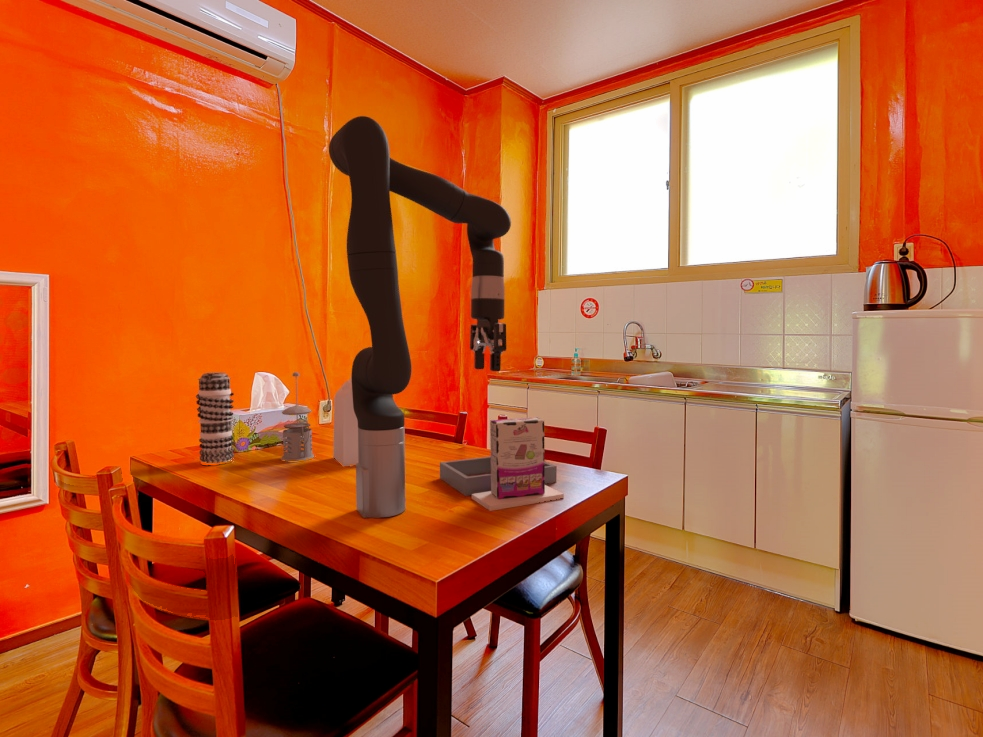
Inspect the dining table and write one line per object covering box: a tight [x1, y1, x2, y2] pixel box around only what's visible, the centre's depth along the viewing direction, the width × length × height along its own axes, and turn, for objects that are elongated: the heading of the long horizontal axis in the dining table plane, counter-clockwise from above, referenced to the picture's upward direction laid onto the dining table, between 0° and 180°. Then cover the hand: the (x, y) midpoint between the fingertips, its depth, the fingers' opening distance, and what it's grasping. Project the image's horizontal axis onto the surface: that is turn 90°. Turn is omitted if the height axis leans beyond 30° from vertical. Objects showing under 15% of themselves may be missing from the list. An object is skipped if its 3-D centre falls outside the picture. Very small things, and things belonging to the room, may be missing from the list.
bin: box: [439, 455, 558, 497], centre depth 127 cm, size 24×16×4 cm, turn 117°
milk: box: [332, 372, 358, 467], centre depth 146 cm, size 12×12×26 cm
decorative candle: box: [195, 372, 235, 463], centre depth 144 cm, size 9×9×25 cm
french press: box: [280, 371, 315, 461], centre depth 148 cm, size 10×12×25 cm
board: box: [471, 484, 565, 512], centre depth 113 cm, size 18×9×1 cm, turn 117°
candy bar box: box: [489, 417, 546, 499], centre depth 112 cm, size 11×5×16 cm, turn 109°
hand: (487, 370), depth 117 cm, fingers open, 8 cm apart
